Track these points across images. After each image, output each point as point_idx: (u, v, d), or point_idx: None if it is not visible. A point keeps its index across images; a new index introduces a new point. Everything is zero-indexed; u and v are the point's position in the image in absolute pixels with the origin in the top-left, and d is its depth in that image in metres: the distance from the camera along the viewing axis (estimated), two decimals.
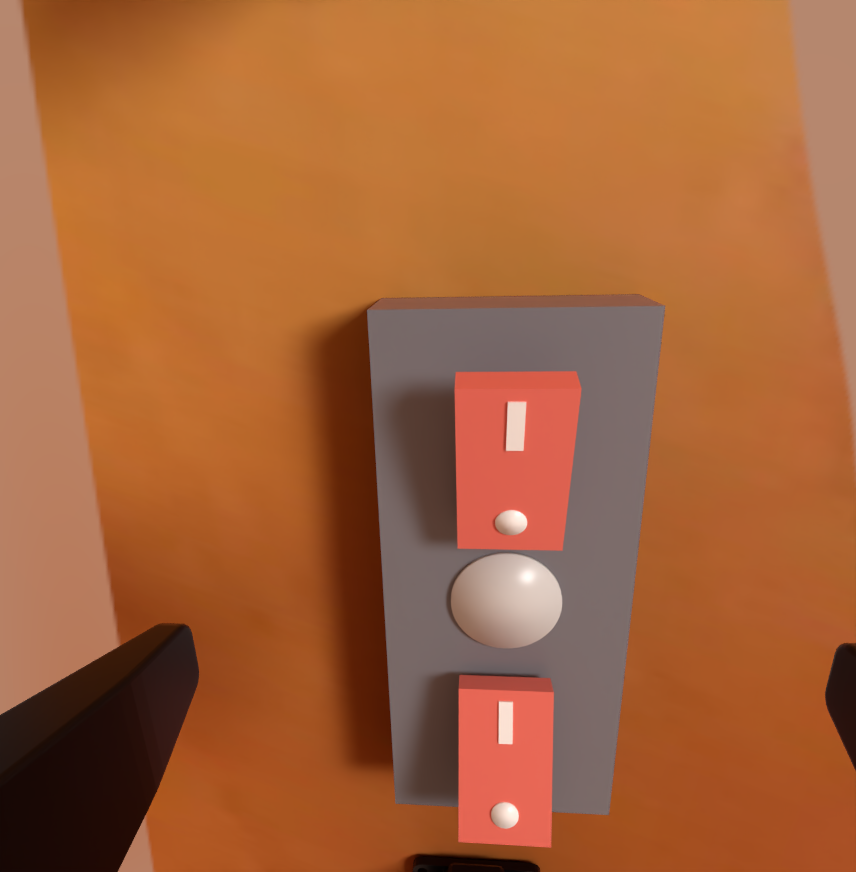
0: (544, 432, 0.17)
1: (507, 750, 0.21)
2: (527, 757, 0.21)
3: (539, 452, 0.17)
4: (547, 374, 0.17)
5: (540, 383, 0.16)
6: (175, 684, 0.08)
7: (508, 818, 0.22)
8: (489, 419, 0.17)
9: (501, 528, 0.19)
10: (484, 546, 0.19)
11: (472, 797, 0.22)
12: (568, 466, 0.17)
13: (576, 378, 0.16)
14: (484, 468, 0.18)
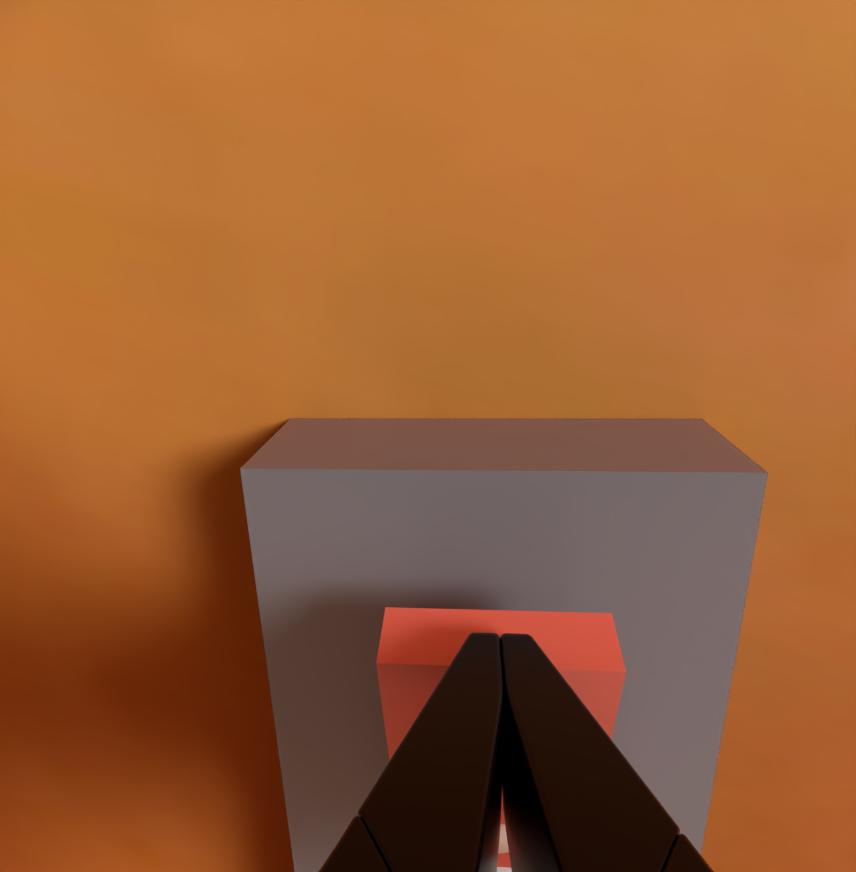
0: None
1: None
2: None
3: None
4: (557, 615, 0.09)
5: (544, 650, 0.08)
6: None
7: None
8: None
9: None
10: None
11: None
12: None
13: (613, 637, 0.08)
14: None
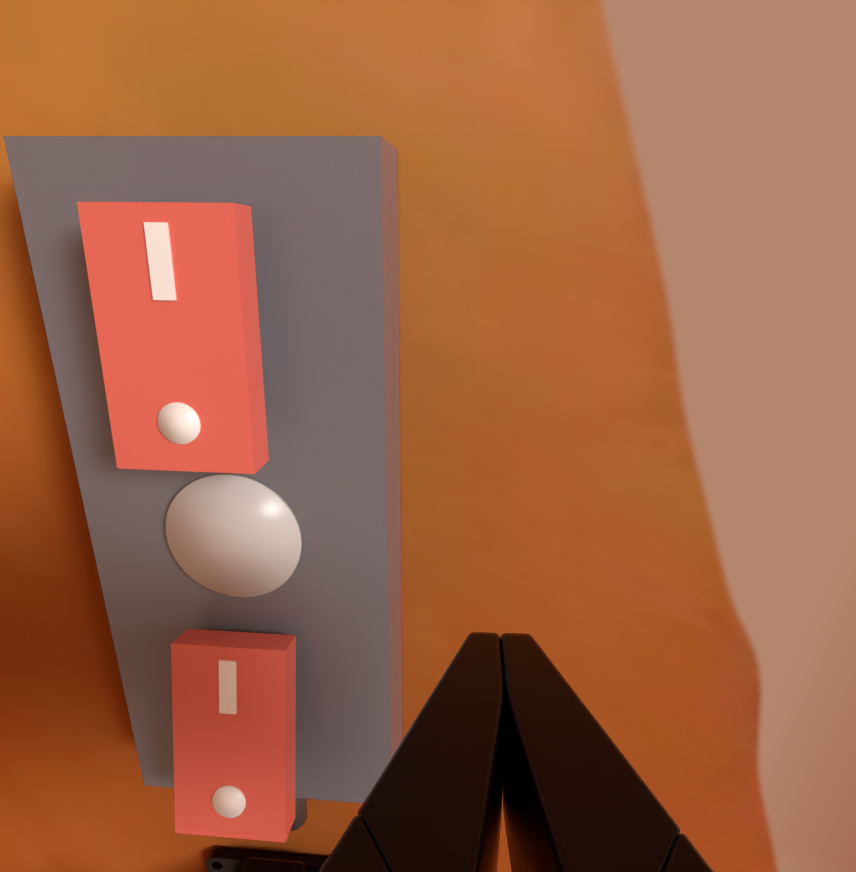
0: (199, 272, 0.13)
1: (230, 721, 0.17)
2: (255, 731, 0.17)
3: (197, 305, 0.13)
4: None
5: None
6: None
7: (233, 806, 0.18)
8: (126, 250, 0.13)
9: (168, 432, 0.14)
10: (151, 465, 0.14)
11: (190, 778, 0.18)
12: (238, 329, 0.13)
13: (240, 204, 0.13)
14: (132, 331, 0.13)
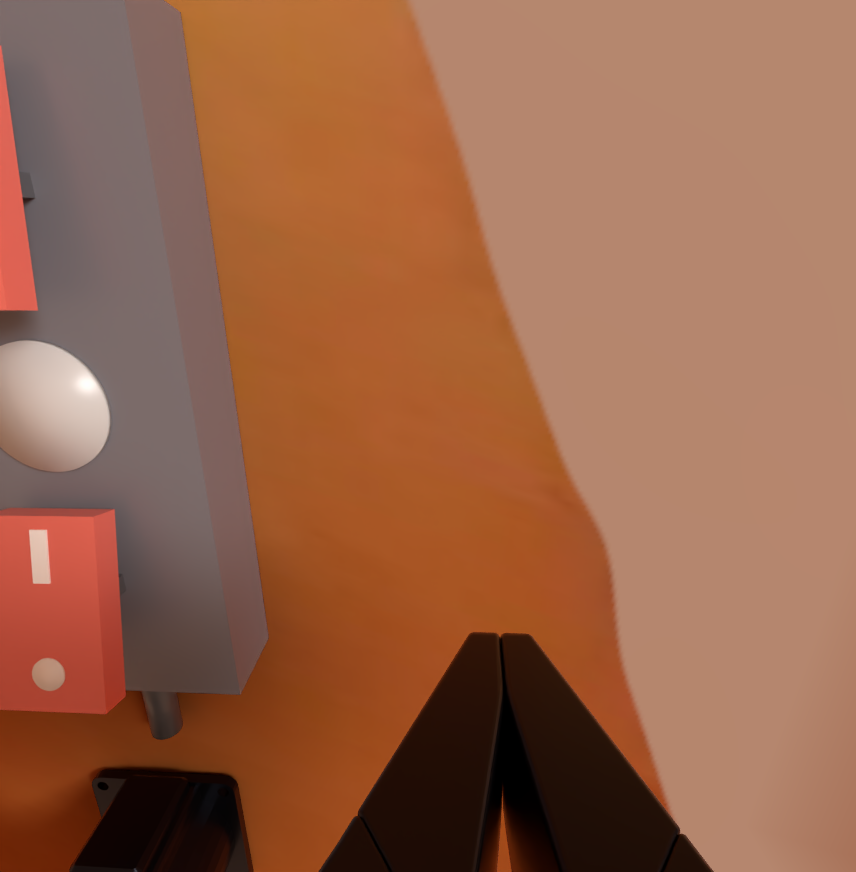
0: None
1: (45, 592, 0.17)
2: (69, 600, 0.17)
3: None
4: None
5: None
6: None
7: (52, 678, 0.18)
8: None
9: None
10: None
11: (10, 652, 0.18)
12: None
13: None
14: None
